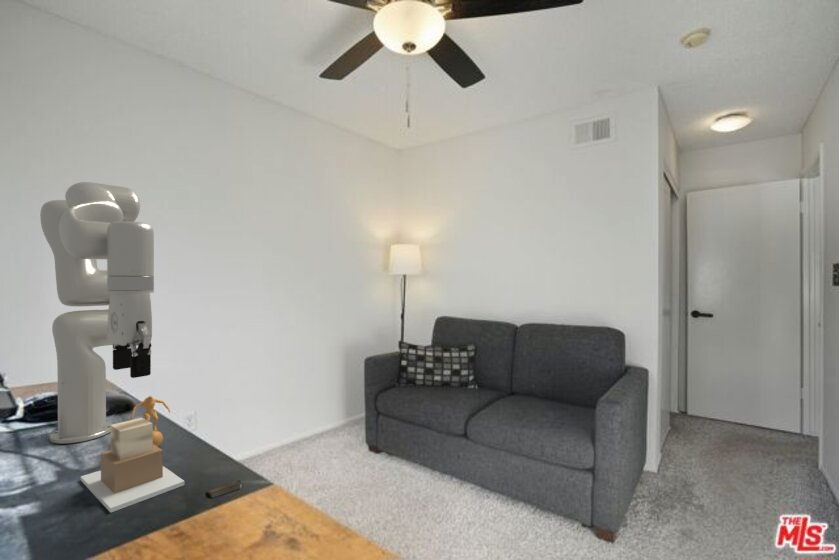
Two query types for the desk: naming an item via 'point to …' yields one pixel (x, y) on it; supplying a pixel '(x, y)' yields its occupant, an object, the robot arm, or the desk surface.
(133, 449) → the maple block
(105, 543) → the desk surface
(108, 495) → the build board
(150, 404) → the figurine
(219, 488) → the block
